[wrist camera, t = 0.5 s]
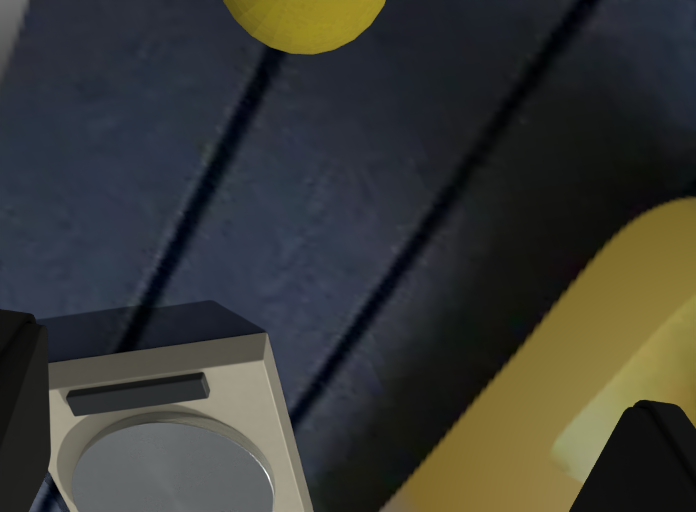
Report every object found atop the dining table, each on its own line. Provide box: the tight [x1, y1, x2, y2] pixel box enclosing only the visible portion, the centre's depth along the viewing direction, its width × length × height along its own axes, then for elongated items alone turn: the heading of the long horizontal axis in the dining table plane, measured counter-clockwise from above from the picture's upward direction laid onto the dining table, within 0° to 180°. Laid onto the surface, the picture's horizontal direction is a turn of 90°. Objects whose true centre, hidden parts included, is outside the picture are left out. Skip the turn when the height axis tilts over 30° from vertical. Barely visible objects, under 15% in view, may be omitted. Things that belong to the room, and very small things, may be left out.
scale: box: [48, 333, 314, 512], centre depth 33 cm, size 13×12×3 cm
